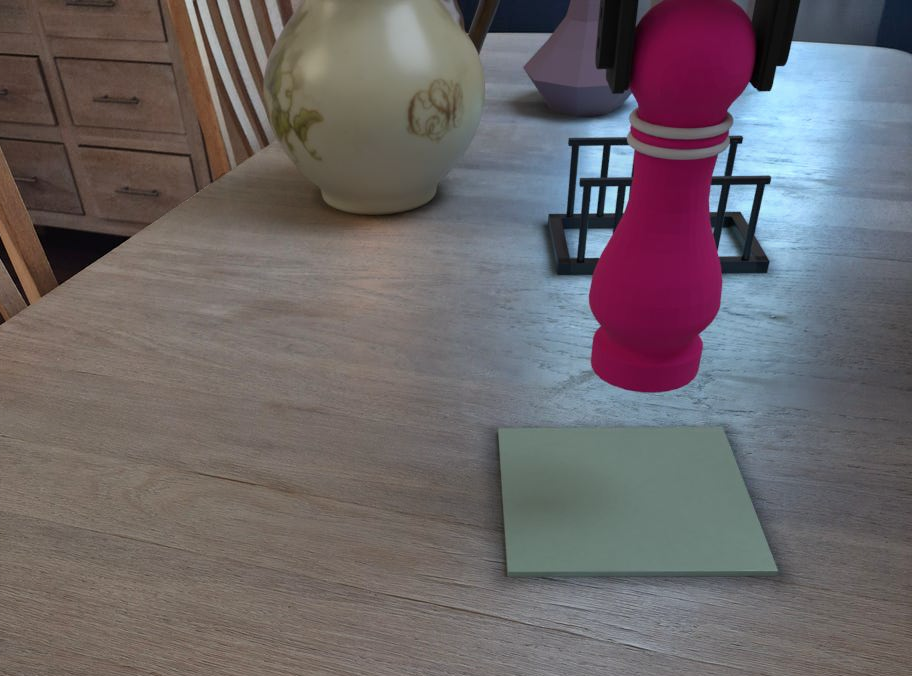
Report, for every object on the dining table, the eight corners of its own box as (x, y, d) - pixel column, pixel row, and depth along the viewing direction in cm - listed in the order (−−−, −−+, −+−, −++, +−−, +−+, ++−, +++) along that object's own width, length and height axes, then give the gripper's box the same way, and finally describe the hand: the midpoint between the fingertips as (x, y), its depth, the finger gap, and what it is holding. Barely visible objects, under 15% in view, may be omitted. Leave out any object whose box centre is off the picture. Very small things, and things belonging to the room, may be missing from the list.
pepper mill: (568, 386, 54) (607, -37, 41) (597, 331, 59) (640, -64, 45) (696, 407, 53) (782, -29, 39) (714, 348, 57) (797, -59, 44)
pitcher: (243, 223, 98) (198, -78, 81) (322, 151, 114) (299, -113, 97) (453, 243, 93) (453, -72, 76) (504, 165, 110) (514, -110, 92)
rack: (738, 223, 96) (756, 134, 90) (766, 274, 87) (789, 178, 81) (547, 225, 96) (553, 136, 91) (557, 276, 88) (564, 181, 82)
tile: (721, 432, 68) (722, 426, 68) (776, 577, 57) (778, 570, 56) (497, 434, 68) (498, 427, 68) (507, 578, 57) (507, 571, 57)
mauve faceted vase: (593, 83, 134) (609, -96, 120) (672, 111, 123) (699, -81, 110) (496, 102, 128) (501, -84, 114) (570, 133, 117) (585, -66, 104)
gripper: (531, -507, 31) (509, 111, 43) (1075, -523, 30) (893, 105, 43) (519, -473, 36) (503, 67, 49) (980, -487, 36) (844, 62, 48)
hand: (686, 81), depth 46 cm, fingers closed on pepper mill, 6 cm apart
